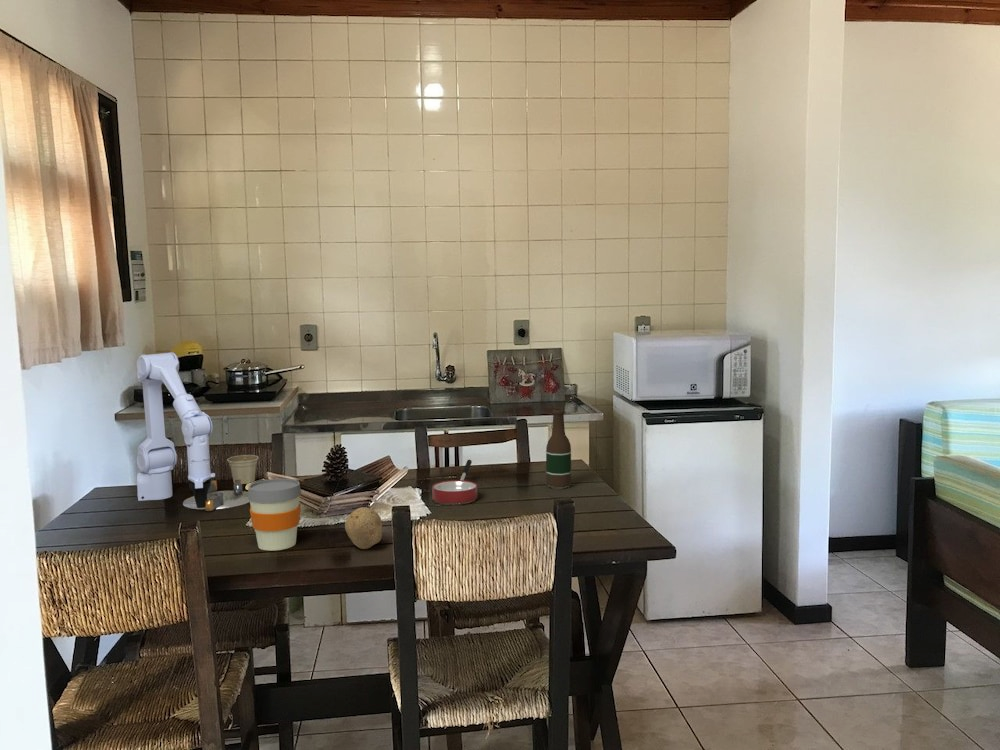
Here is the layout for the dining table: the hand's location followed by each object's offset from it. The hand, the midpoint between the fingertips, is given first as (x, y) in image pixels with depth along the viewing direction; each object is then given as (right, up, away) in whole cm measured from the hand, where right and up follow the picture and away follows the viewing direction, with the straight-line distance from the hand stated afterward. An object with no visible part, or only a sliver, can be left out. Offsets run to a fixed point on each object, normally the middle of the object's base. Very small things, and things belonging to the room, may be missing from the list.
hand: (201, 507), depth 230 cm
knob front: (+3, 0, +2) cm, 4 cm away
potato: (+50, -5, -30) cm, 58 cm away
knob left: (-4, +2, +17) cm, 18 cm away
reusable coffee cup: (+28, -5, -26) cm, 39 cm away
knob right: (+4, +2, +18) cm, 19 cm away
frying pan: (+70, +1, +21) cm, 73 cm away
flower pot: (+2, +2, +32) cm, 32 cm away
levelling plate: (+1, -1, +11) cm, 11 cm away
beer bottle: (+101, +2, +25) cm, 104 cm away
